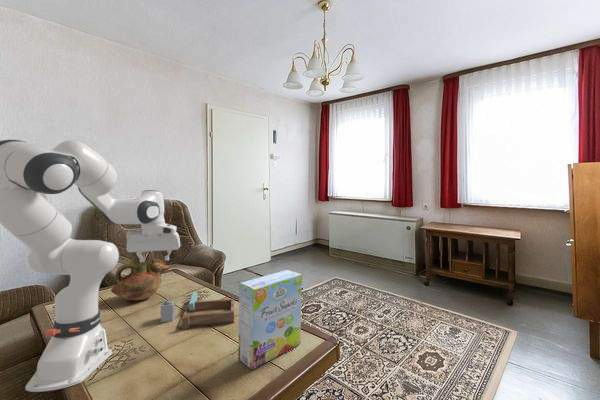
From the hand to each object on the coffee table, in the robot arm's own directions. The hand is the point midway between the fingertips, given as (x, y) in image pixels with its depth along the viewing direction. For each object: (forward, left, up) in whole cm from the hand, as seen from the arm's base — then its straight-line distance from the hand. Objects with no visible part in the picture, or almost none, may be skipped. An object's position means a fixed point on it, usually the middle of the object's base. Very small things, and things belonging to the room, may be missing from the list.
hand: (154, 261), depth 120 cm
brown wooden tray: (+2, -22, -25) cm, 33 cm away
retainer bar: (+9, -14, -23) cm, 29 cm away
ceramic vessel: (+25, +13, -25) cm, 37 cm away
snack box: (-35, -45, -25) cm, 63 cm away
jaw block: (-2, -5, -25) cm, 25 cm away
